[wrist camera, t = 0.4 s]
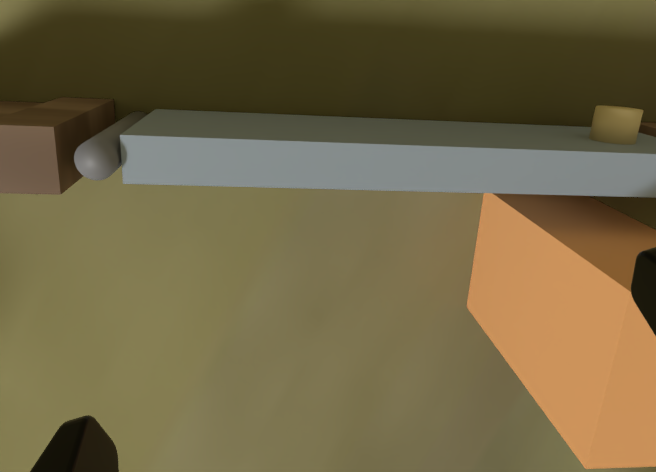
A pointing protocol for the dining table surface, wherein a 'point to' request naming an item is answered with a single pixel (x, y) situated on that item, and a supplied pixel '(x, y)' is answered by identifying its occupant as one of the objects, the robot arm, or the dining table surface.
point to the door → (376, 153)
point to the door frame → (62, 141)
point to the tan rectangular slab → (571, 318)
